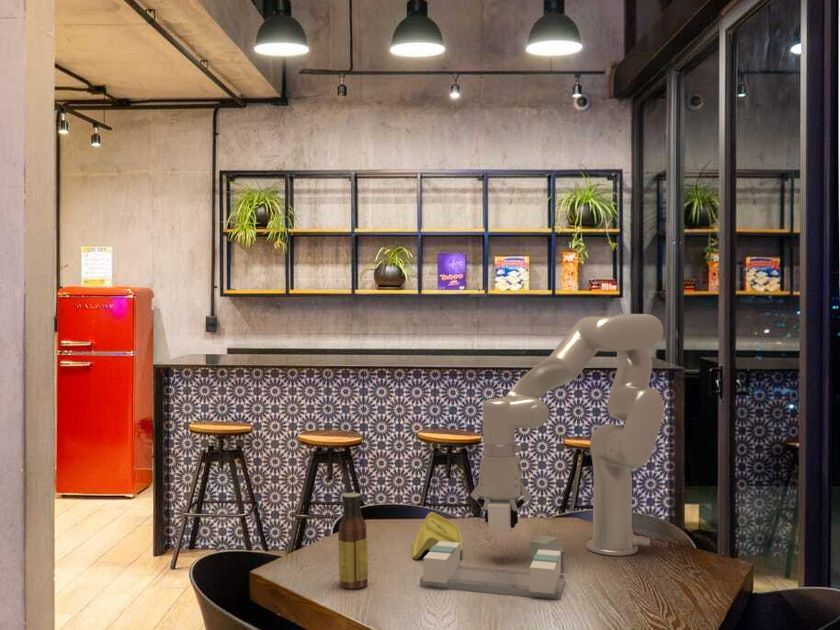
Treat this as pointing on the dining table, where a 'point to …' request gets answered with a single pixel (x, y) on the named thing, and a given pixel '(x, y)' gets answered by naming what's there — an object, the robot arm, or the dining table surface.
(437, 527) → the plastic component
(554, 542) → the block
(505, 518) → the block
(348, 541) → the sauce bottle
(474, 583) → the rail
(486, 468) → the robot arm
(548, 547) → the block
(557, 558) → the mounted module
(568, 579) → the dining table surface
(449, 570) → the block
